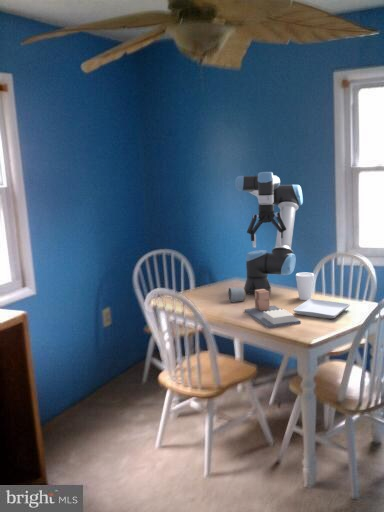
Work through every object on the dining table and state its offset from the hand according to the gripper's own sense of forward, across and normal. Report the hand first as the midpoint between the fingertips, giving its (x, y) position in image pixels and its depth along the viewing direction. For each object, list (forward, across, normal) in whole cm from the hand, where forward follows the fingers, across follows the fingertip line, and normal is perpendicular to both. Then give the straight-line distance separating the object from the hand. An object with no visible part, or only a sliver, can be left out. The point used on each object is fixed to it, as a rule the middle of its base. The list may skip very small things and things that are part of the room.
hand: (267, 246), depth 266 cm
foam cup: (+31, +23, +4) cm, 39 cm away
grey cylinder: (+31, -12, +16) cm, 37 cm away
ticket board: (+31, -7, -19) cm, 37 cm away
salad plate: (+31, +18, -22) cm, 42 cm away
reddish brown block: (+29, -7, -8) cm, 31 cm away
